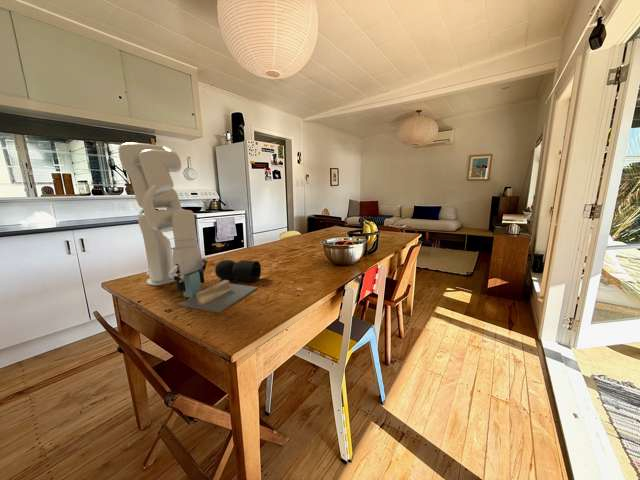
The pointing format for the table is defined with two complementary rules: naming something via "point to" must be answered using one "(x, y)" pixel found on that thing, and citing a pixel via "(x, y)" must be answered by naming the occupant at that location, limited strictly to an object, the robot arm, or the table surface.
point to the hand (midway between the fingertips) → (191, 286)
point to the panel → (221, 299)
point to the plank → (213, 292)
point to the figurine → (238, 270)
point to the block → (192, 284)
